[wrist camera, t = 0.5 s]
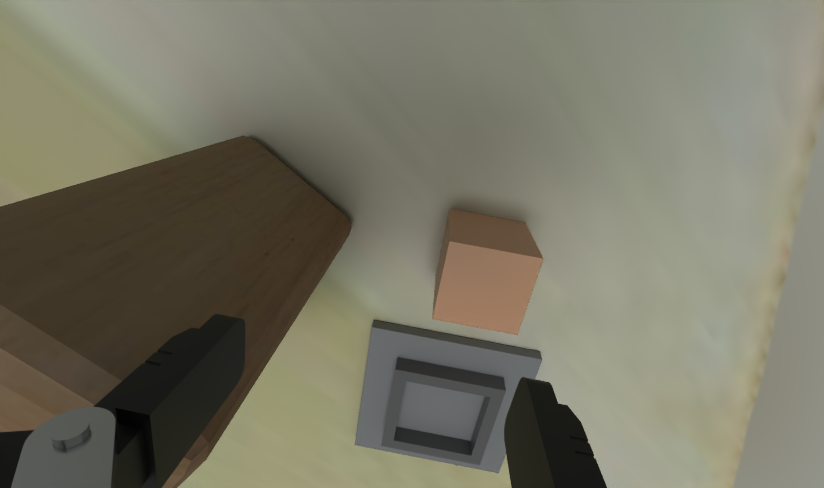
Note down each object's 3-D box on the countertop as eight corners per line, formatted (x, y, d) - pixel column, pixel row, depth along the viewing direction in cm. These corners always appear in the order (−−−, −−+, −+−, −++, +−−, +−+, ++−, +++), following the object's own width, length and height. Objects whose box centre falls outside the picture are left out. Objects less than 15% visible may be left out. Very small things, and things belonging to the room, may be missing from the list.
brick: (449, 208, 28) (449, 241, 22) (525, 222, 28) (543, 258, 22) (435, 274, 30) (432, 318, 25) (505, 287, 30) (517, 335, 24)
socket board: (374, 319, 32) (368, 338, 30) (539, 351, 32) (546, 372, 30) (357, 435, 38) (351, 459, 36) (497, 463, 38) (500, 488, 35)
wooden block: (286, 302, 32) (73, 597, 14) (183, 225, 30) (-224, 453, 12) (360, 221, 29) (202, 476, 10) (248, 127, 27) (-189, 241, 8)
